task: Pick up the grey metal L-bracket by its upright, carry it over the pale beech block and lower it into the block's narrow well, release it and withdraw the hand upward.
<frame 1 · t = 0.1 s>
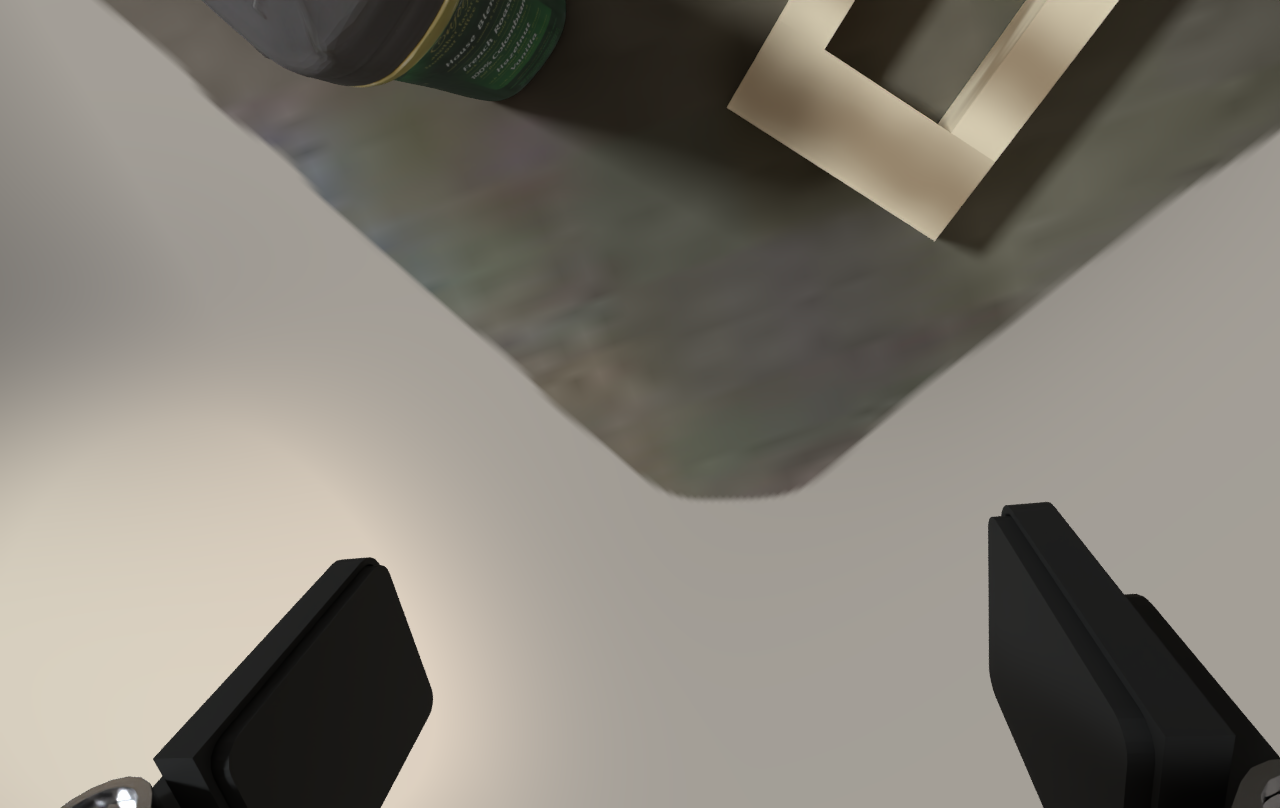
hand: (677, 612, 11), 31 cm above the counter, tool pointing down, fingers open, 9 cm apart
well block: (924, 20, 34), on the counter
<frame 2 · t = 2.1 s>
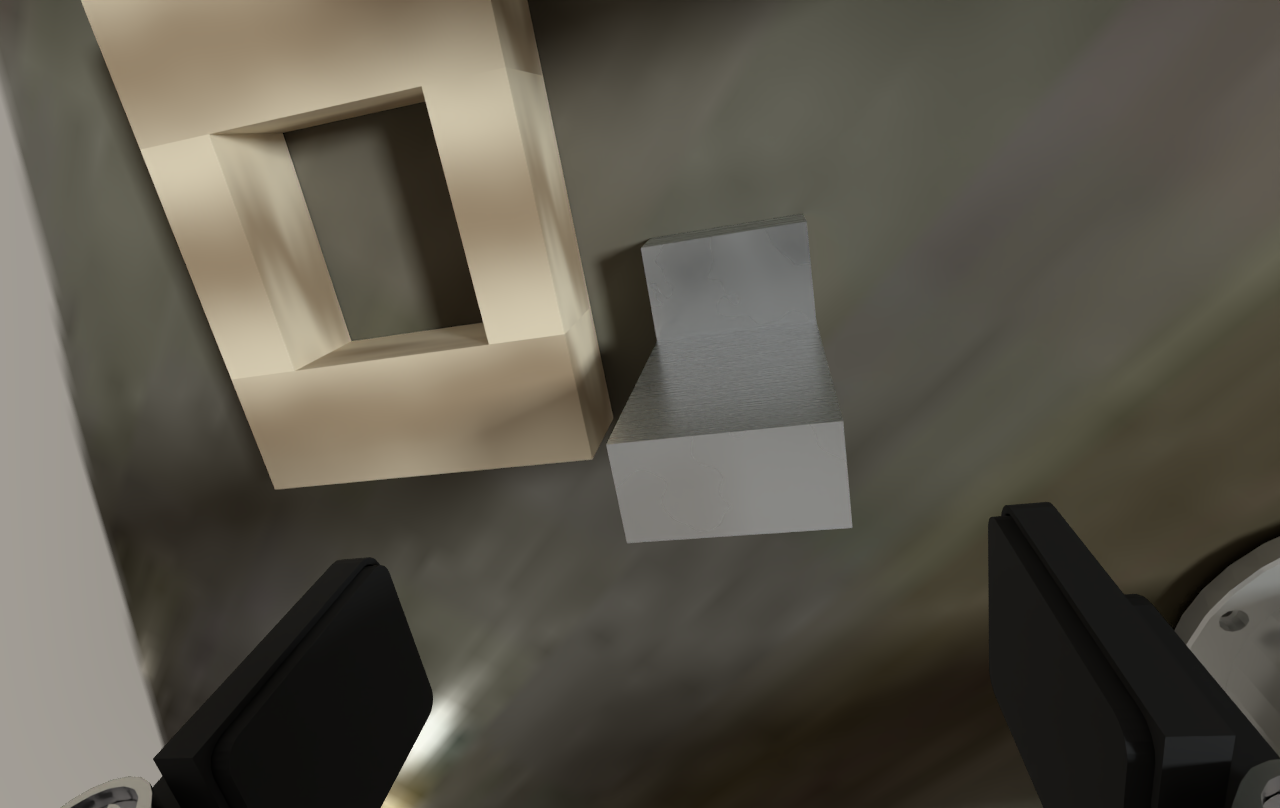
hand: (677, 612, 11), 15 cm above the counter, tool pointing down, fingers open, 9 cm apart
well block: (405, 226, 25), on the counter
bracket: (735, 308, 24), on the counter
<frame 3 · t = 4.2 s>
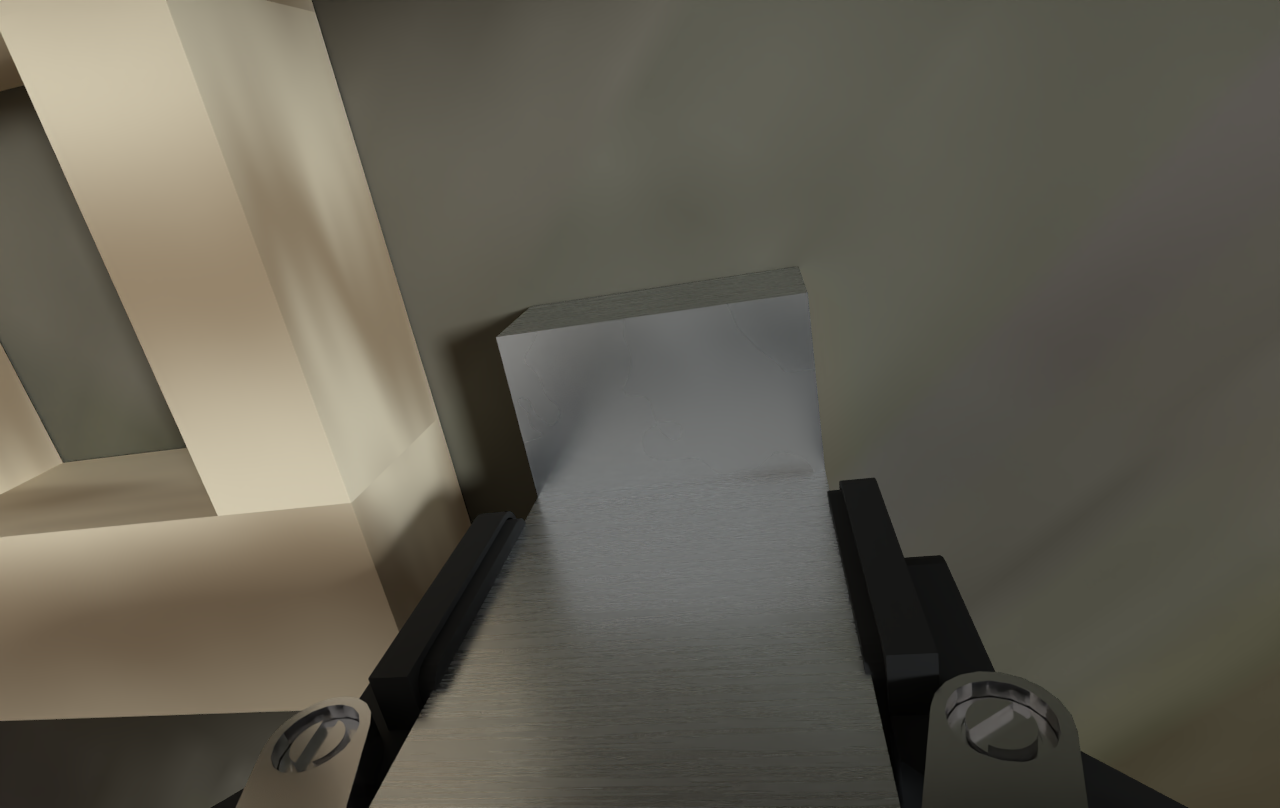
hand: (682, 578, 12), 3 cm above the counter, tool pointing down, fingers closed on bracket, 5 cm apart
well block: (117, 282, 14), on the counter
bracket: (682, 424, 14), on the counter, touching gripper
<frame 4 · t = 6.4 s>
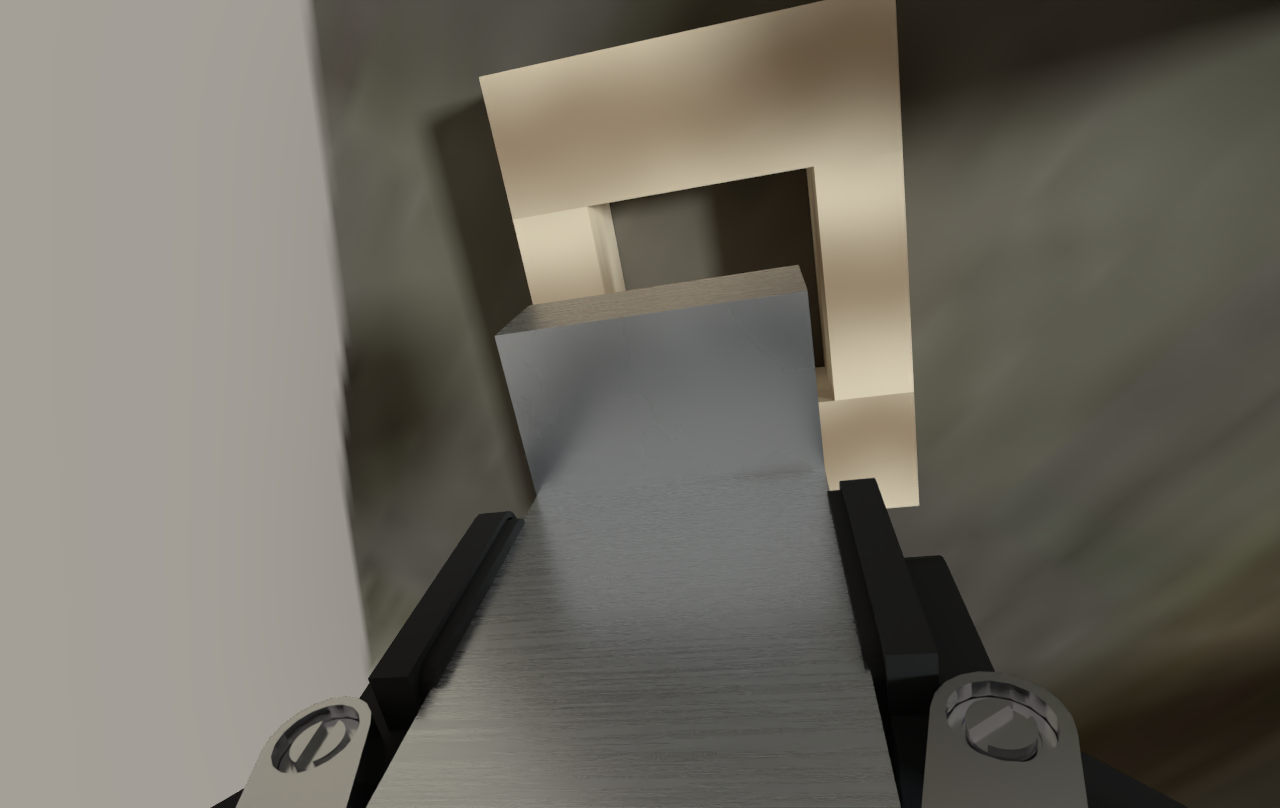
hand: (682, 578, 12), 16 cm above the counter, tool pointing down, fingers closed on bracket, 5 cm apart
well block: (718, 282, 26), on the counter
bracket: (682, 423, 14), point 13 cm above the counter, touching gripper
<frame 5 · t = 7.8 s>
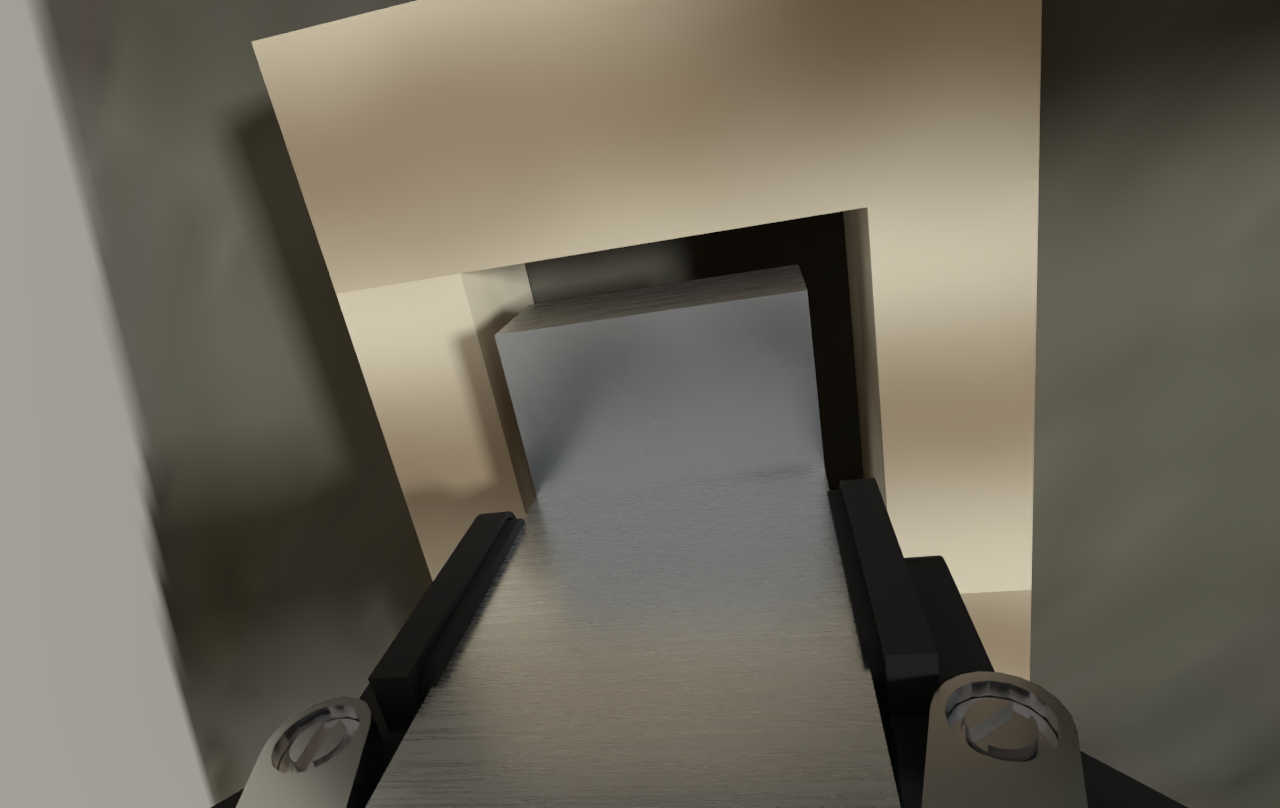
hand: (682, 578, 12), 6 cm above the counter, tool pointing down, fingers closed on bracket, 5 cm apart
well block: (698, 379, 16), on the counter
bracket: (682, 422, 14), point 3 cm above the counter, touching gripper
when the fingers open (4 cm above the counter, at t = 8.8 s): bracket drops 1 cm, resting in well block.
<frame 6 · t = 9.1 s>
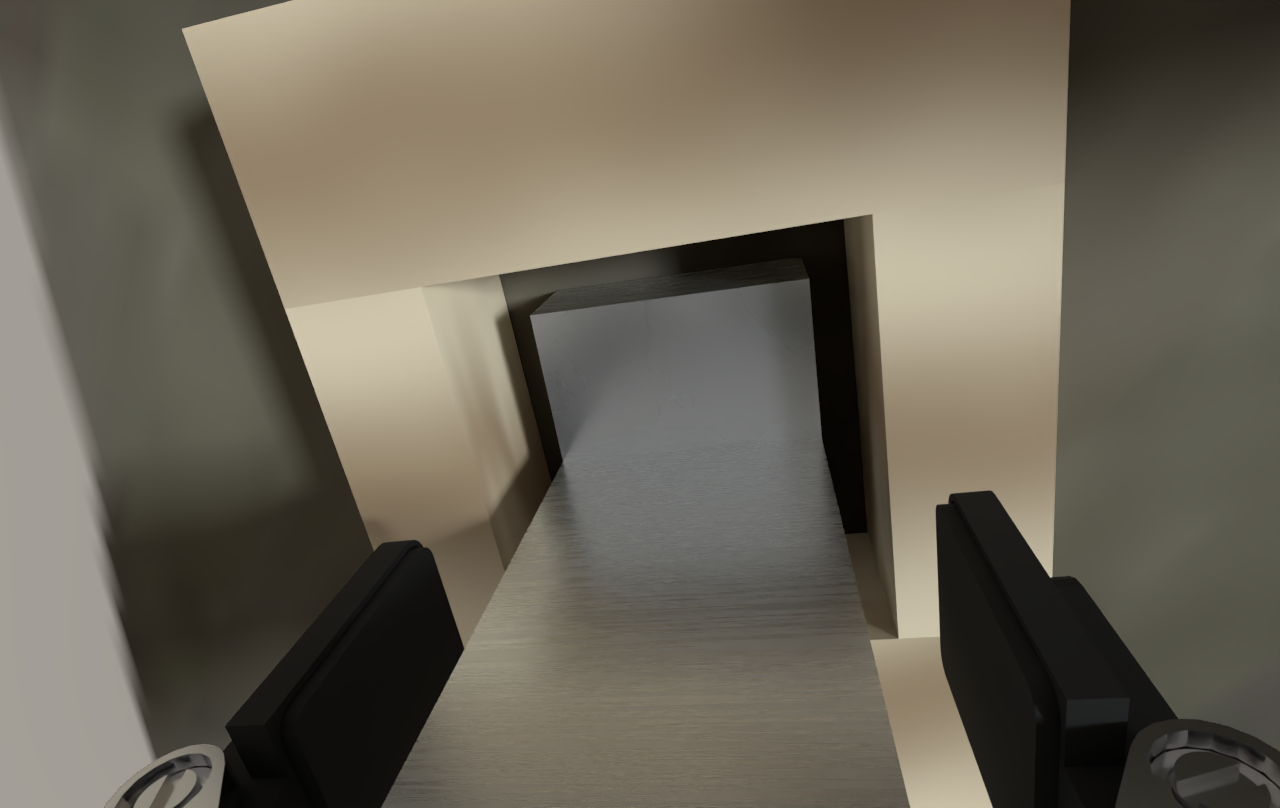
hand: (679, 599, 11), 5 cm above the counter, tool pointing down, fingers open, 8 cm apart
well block: (687, 396, 15), on the counter
bracket: (693, 399, 15), resting in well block
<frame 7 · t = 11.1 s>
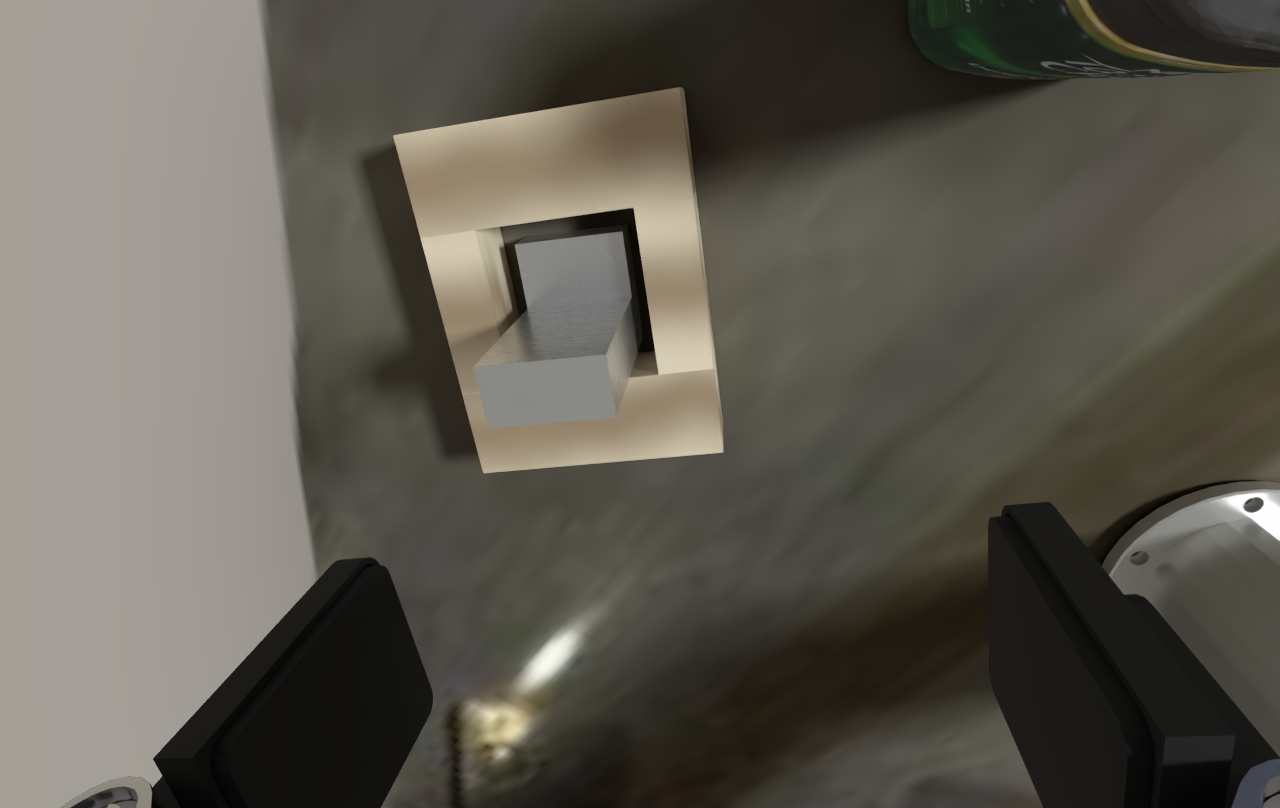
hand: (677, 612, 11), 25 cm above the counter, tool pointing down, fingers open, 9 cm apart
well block: (583, 285, 34), on the counter
bracket: (585, 287, 35), resting in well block
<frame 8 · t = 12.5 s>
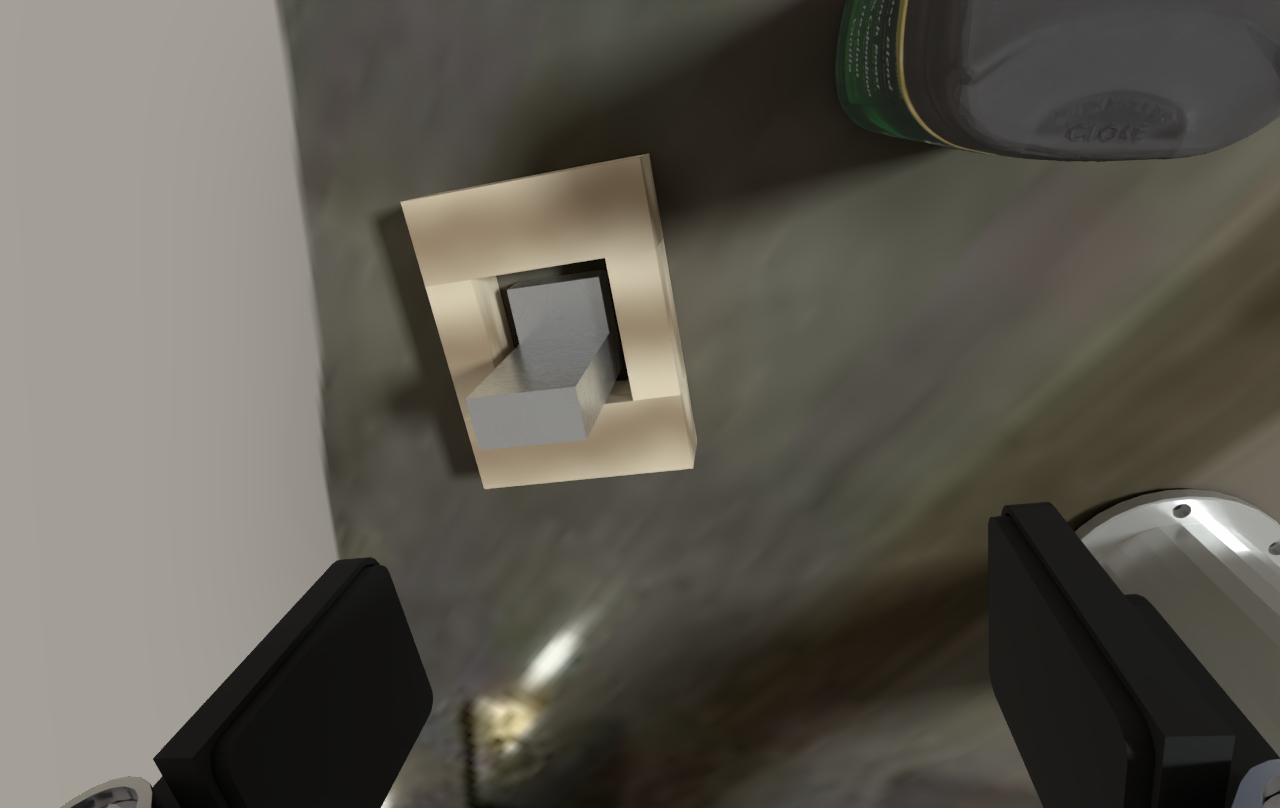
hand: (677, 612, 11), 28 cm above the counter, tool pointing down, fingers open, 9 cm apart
coffee jar: (942, 50, 32), on the counter
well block: (569, 322, 39), on the counter
bracket: (571, 324, 39), resting in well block
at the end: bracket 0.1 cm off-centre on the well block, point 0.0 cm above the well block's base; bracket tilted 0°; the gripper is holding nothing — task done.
